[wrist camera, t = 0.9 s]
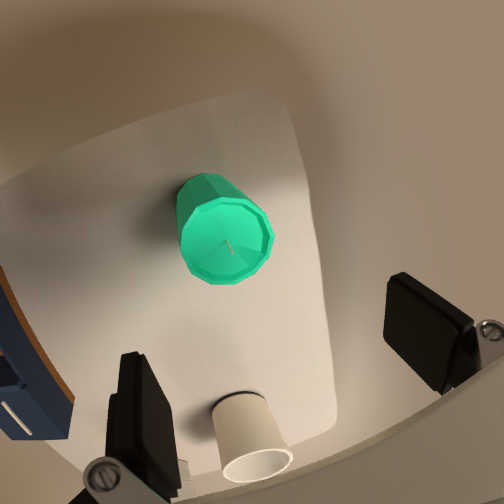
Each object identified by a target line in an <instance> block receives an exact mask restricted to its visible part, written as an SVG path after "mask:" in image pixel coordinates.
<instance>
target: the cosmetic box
mask: <svg viewBox="0 0 504 504" xmlns="http://www.w3.org/2000/svg"><path fill="white" fill-rule="evenodd" d="M178 465H179V472H180V478H181V485H182V488H181V489H177V491H178V497H176V498H171V503H175V502H178V501H182V500H186V499H190V498H195V493H194V489H193V485H192V480H191V476H190V471H189V466H188V462H186V461H182V460H178Z"/></svg>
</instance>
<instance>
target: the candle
mask: <svg viewBox="0 0 504 504" xmlns="http://www.w3.org/2000/svg"><path fill="white" fill-rule="evenodd" d="M176 217H177V227H178V236H179V245H180V252H181V254H182V256H183V258H184V260H185V262H186V264H187V266H188V268H189V270H190V272H191V274H193V275H194V276H196V277H198V278H200V279H202V280H204V281H205V282H207V283H209V284H211V285H234V284H236V283H238V282H240V281H242V280H244V279H246V278H248V277H249V276H251V275H253V274H255V273H256V272H257V270H258V269H259V268H260V267H261V266H262V265H263V263H264V262H265V261H266V260H267V259H268V258H269V257H270V253H271V249H272V244H273V240H274V236H275V235H274V232H273V230H272V227H271V225H270V223H269V220H268V218H267V215H266V213H265V212H264V211H263V210H261V209H260V208H259V207H258V206H257V205H256V204H255V203H253V202H252V201H251V200H250V199H249V198H248V197H247V196H245V195H244V194H243V193H242V192H241V191H240V190H239V189H237V188H236V187H235V186H234V185H233V184H232V183H230V182H229V181H227V180H226V179H225V178H223V177H222V176H220V175H216V174H205V173H202V174H200V175H198V176H196V177H194V178H192V179H189V180H187V181H186V183H185V184H184V186H183V187H182V188H181V190H180V191H179V193H178V194H177V204H176Z"/></svg>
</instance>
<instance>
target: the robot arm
mask: <svg viewBox="0 0 504 504" xmlns="http://www.w3.org/2000/svg"><path fill="white" fill-rule="evenodd" d="M473 324H474V320H473V319H472V318H470V317H469V316H468V315H466V314H465V313H464V312H462V311H461V310H459V309H458V308H457V307H455V306H454V305H452V304H451V303H449V302H448V301H447V300H445V299H444V298H442V297H441V296H440V295H438V294H437V293H435V292H434V291H432V290H431V289H429V288H428V287H426V286H425V285H423V284H422V283H420V282H419V281H417V280H416V279H414V278H413V277H411V276H410V275H409V274H407V273H405V272H401V273H399V274H396V275H393V276H391V277H390V280H389V281H388V283H387V294H386V307H385V319H384V330H383V337H384V340H385V341H386V343H387V344H388V345H389V346H390V347H391V348H392V349H393V350H394V351H395V352H396V353H397V354H398V355H399V356H400V357H401V358H402V359H403V360H404V361H405V362H406V363H407V364H408V365H409V366H410V367H411V368H412V369H413V370H414V371H415V372H416V373H417V374H418V375H419V376H420V377H421V378H422V379H423V380H424V382H425V383H427V385H428V386H429V387H430V388H431V389H432V390H433V391H438V392H439V394H441V396H442V395H444V394H446V393H447V392H448V391H450V390H451V389H452V387H454V388H455V389H453V390H452V391H450V392H449V393H447V394H446V395H444V396H443V397H441V398H440V399H439V400H437V401H435V402H433V403H432V404H430V405H429V406H427V407H425V408H424V409H422V410H420V411H419V412H417V413H415V414H414V415H412V416H411V417H409V418H407V419H405V420H403V421H402V422H400V423H398V424H396V425H394V426H392V427H391V428H389V429H387V430H385V431H383V432H381V433H379V434H377V435H375V436H373V437H371V438H370V439H367V440H365V441H363V442H361V443H359V444H357V445H354V446H352V447H350V448H348V449H346V450H343V451H341V452H339V453H336V454H334V455H332V456H330V457H327V458H324V459H322V460H319V461H317V462H314V463H312V464H309V465H306V466H304V467H301V468H298V469H296V470H292V471H289V472H287V473H284V474H281V475H277V476H274V477H271V478H268V479H265V480H261V481H258V482H254V483H251V484H247V485H244V486H240V487H236V488H233V489H228V490H224V491H221V492H216V493H211V494H207V495H204V496H199V497H195V498H190V499H186V500H182V501H178V502H175V503H171V498H176V497H178V491H177V489H181V488H182V485H181V478H180V472H179V465H178V459H177V451H176V444H175V436H174V428H173V419H172V411H171V407H170V404H169V402H168V400H167V398H166V396H165V395H164V393H163V391H162V389H161V387H160V385H159V383H158V381H157V379H156V377H155V375H154V373H153V371H152V369H151V367H150V365H149V363H148V361H147V359H146V357H145V355H144V354H141V355H139V353H138V352H137V351H135V352H131V353H126V354H122V355H121V361H120V370H119V379H118V390H117V393H115V394H111V396H110V399H109V408H108V419H107V432H106V448H105V457H100V458H97V459H95V460H93V461H92V462H90V464H89V465H88V466H87V467H86V469H85V471H84V474H83V482H84V485H85V487H86V488H85V489H83V490H82V491H81V492H80V493H79V494H78V495H77V496H76V497H75V498H74V499H73V500H72V501H71V502H69V503H68V504H504V325H503V324H502V323H500V322H498V321H495V320H483V321H481V322H480V323H478V325H477V327H476V328H475V327H474V326H473Z"/></svg>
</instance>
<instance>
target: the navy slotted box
mask: <svg viewBox="0 0 504 504" xmlns="http://www.w3.org/2000/svg"><path fill="white" fill-rule="evenodd" d="M74 400H75V397H74V395H73V394H72V392H71V391H70V390H69V388H68V387H67V385H66V384H65V383H64V381H63V380H62V378H61V377H60V375H59V374H58V372H57V371H56V369H55V368H54V366H53V364H52V363H51V361H50V360H49V358H48V357H47V355H46V353H45V352H44V350H43V348H42V347H41V345H40V343H39V342H38V340H37V338H36V336H35V335H34V333H33V331H32V329H31V328H30V326H29V324H28V322H27V320H26V318H25V316H24V314H23V313H22V311H21V309H20V307H19V305H18V303H17V301H16V298H15V296H14V294H13V292H12V290H11V288H10V286H9V284H8V281H7V279H6V277H5V274H4V272H3V270H2V267H1V265H0V428H1V429H2V430H3V431H4V432H5V433H6V435H7V436H8V437H9V438H10V439H11V440H60V439H68V434H69V428H70V422H71V416H72V411H73V405H74Z"/></svg>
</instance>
